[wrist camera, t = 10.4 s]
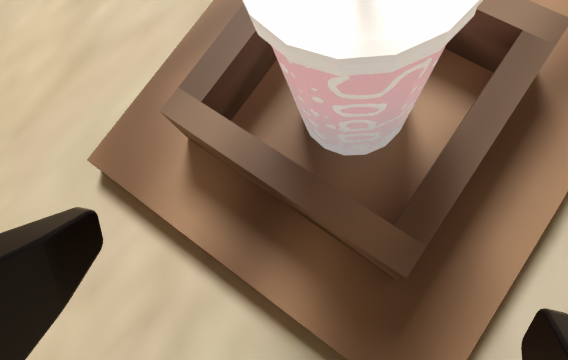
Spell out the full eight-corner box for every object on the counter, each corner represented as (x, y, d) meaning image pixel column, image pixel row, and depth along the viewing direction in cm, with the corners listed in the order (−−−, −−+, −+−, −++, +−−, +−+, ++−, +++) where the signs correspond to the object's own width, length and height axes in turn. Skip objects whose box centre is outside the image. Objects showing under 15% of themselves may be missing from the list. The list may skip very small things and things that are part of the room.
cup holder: (640, 52, 18) (726, -16, 14) (422, 412, 16) (449, 455, 12) (305, -93, 23) (297, -176, 19) (101, 167, 20) (41, 137, 16)
